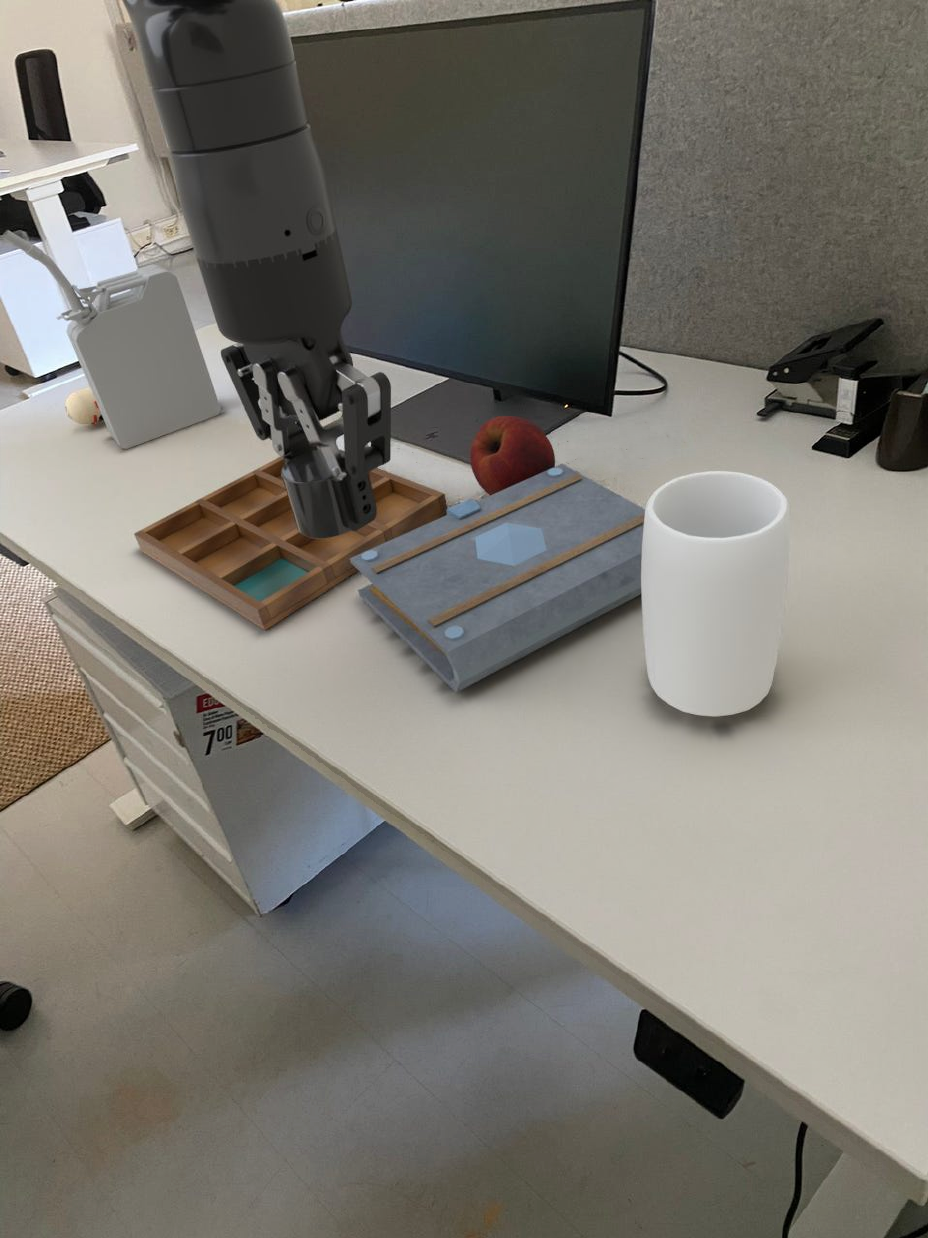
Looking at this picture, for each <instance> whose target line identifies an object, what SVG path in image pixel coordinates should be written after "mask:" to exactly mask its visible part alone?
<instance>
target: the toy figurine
mask: <svg viewBox="0 0 928 1238" xmlns="http://www.w3.org/2000/svg"><path fill="white" fill-rule="evenodd" d="M64 408H65V411H66V414H67V416H68V417H69V418H70V419H71V420H72V421H73V422H75V423H76V424H78V425H79V424H80V425H90V424H91V425H95V424H96V423H99V422H103V421H104V419H103V416H102V414H101V412H100V409H99V407H98V405H97V402H96V400H95V398H94V395H93V393H92V391H91V388H90V386H88V387H85V388H82V389H79V390H77V391H73V392H72V393H70V394H69V395H68V396H67V398H66V400H65V404H64Z"/></svg>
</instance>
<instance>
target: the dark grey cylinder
mask: <svg viewBox="0 0 928 1238" xmlns="http://www.w3.org/2000/svg"><path fill="white" fill-rule="evenodd" d="M339 451H340V453H341V456H343V455H345V451H344V450H343V449H339ZM281 475H282V478H283V482H284V485H285V488H286V492H287V495H288V499H289V502H290V505H291V509H292V512H293V515H294V519H295V522H296V526H297V529H298V531H299V532H300V533H301V534H302V535H304V536H306V537H310V538H317V539H322V538H331V537H336V536H339V535H342V534H345V533H347V532H349V531H351V530H350V529H348V528H346V527H344V526H343V523H342V519H341V515H340V511H339V507H338V504H337V500H336V496H335V492H334V488H333V484H332V480H331V478H332V477H333V476H332V474H331V472H330V470H329V468H328V466H327V463H326V461H325V459H324V456H323V454H322V452H321V449H318V450H313V451H309V452H306V453H303V454H300V455H298V456H296V457H294V458H293V459H291V460H290V461H288V462H287V463H286V464H285V465H284V466H283V468H282V471H281Z"/></svg>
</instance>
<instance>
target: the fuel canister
mask: <svg viewBox="0 0 928 1238" xmlns="http://www.w3.org/2000/svg"><path fill="white" fill-rule="evenodd" d="M1 238H2V240H4V241H6V242H7V243H9V244H11V245H13V246H14V247H16V248H18V249H20V250H21V251H23V252H24V253H25V255H28V256H29V257H31V258H32V259H33V260H35V261H37V262H39V263H41V264H42V265H43V266H45V268H46V269H47V271H49V273H50V274H51V276H52V277H53V278H54V280H55V281H56V282H57V284H58V285H59V286H60V288H61V289H62V291H63V293H64V295H65V297H66V300H67V302H68V304H69V306H70V309H69V310H66V311H64V312H61V313H60V315H58V316H56V319H57V320H58V321H59V320H61V319H63V320H64V321H66V322H69V321H70V322H69V323H68V324H67V327H66V334H67V337H68V339H69V341H70V344H71V346H72V348H73V351H74V353H75V355H76V358H77V360H78V362H79V364H80V368H81V369H82V372H83V374H84V376H85V379H86V381H87V384H88V387H90V388H91V391H92V393H93V395H94V398H95V400H96V402H97V405H98V407H99V409H100V412H101V414H102V416H103V419H104V420H103V421H104V424H105V425H106V429H107V430H108V433H109V435H110V436H111V437H112V439H113V440H114V441H115V443H117V444H118V446H119V447H120V448H122V449H126V450H128V449H131V448H133V447H136V446H138V445H141V444H144V443H147V442H150V441H152V440H156V439H158V438H161V437H163V436H166V435H169V434H171V433H174V432H177V431H179V430H182V429H184V428H188V427H190V426H193V425H195V424H198V423H201V422H203V421H207V420H208V419H211V418H214V417H216V416H218V415H219V414H221V411H222V408H221V405H220V402H219V399H218V396H217V393H216V390H215V387H214V384H213V380H212V378H211V374H210V372H209V369H208V366H207V363H206V359H205V357H204V354H203V351H202V348H201V345H200V342H199V339H198V337H197V333H196V330H195V328H194V327H195V326H194V324H193V322H192V318H191V315H190V313H189V309H188V306H187V303H186V300H185V297H184V294H183V292H182V289H181V286H180V283H179V280H178V277H177V276H176V275H175V274H174V273H173V272H171V271H169V270H167V269H166V268H164V267H162V266H160V265H158V264H154V263H153V264H149V265H146V266H143V267H139V268H136V270H134V271H131V272H128V273H123V274H121V275H117V276H114V277H110V278H106V279H103V280H100V281H97V283H96V285H94V286H93V285H92V286H88V287H84V288H83V287H82V288H78V286H77V285H75V284H72V283H71V282H70V280H69V279H68V278H67V277H66V276H65V274H64V273H63V271H62V270H61V269H60V268H59V266H58V265H57V264H56V263H55V261H54V260H53V258H51V256H48V254H46V253H45V252H44V250H42V249H41V248H40V247H38V246H36V244H34V243H30V242H29V241H27V240H26V239H24V238H23V237H21V236H19V235H18V234H16V233H14V232H12V231H10V230H9V229H6V230H5V232H3V235H2V236H1ZM94 290H95V291H94ZM125 291H126V292H125ZM78 295H79V296H78ZM112 295H113V296H112ZM84 305H86V306H84Z"/></svg>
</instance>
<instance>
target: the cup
mask: <svg viewBox="0 0 928 1238" xmlns="http://www.w3.org/2000/svg"><path fill="white" fill-rule="evenodd" d="M644 509H645V517H644V528H643V540H642V561H641V594H640V595H641V614H642V633H643V643H644V644H643V645H644V654H645V655H644V656H645V663H646V671H647V678H648V680H649V683H650V686H651V688H652V690H653V691H654V692H655V693H656V695H657V697H658V698H660V699H661V700H662V701H664V702H665V703H666V704H668V705H669V706H671V707H672V708H675V709H677V710H679V711H681V712H683V713H686V714H690V715H691V714H692V715H696V716H703V717H725V716H731V715H736V714H737V715H738V714H739V713H743V712H747V711H749V710H751V709H752V708H754V707H756V706H758V705H759V704H760V703H761V702H762V701H763V700H764V699H765V698H766V697H767V696H768V694H769V692H770V689H771V687H772V685H773V681H774V675H775V671H776V666H777V661H778V655H779V650H780V643H781V638H782V631H783V622H784V616H785V609H786V600H787V592H788V581H789V561H790V501H789V500H788V499H787V497H786V495H785V494H784V493H783V492H782V491H781V490H780V489H779V488H777V487H776V486H775V485H774V484H773V483H771V482H770V481H767V480H765V479H763V478H761V477H758V476H755V475H751V474H748V473H745V472H739V471H738V472H737V471H729V470H717V471H716V470H712V471H711V470H708V471H702V472H694V473H693V472H692V473H690V474H685V475H682V476H681V475H680V476H677V477H675V478H673V479H671V480H670V481H667V482H665V483H664V484H662V485H661V486H660V487H658V488H657V489H656V490H655V491H653V492H652V493H651V495H650V497H649V498H648V500H647V501H646V505H645V508H644Z"/></svg>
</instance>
